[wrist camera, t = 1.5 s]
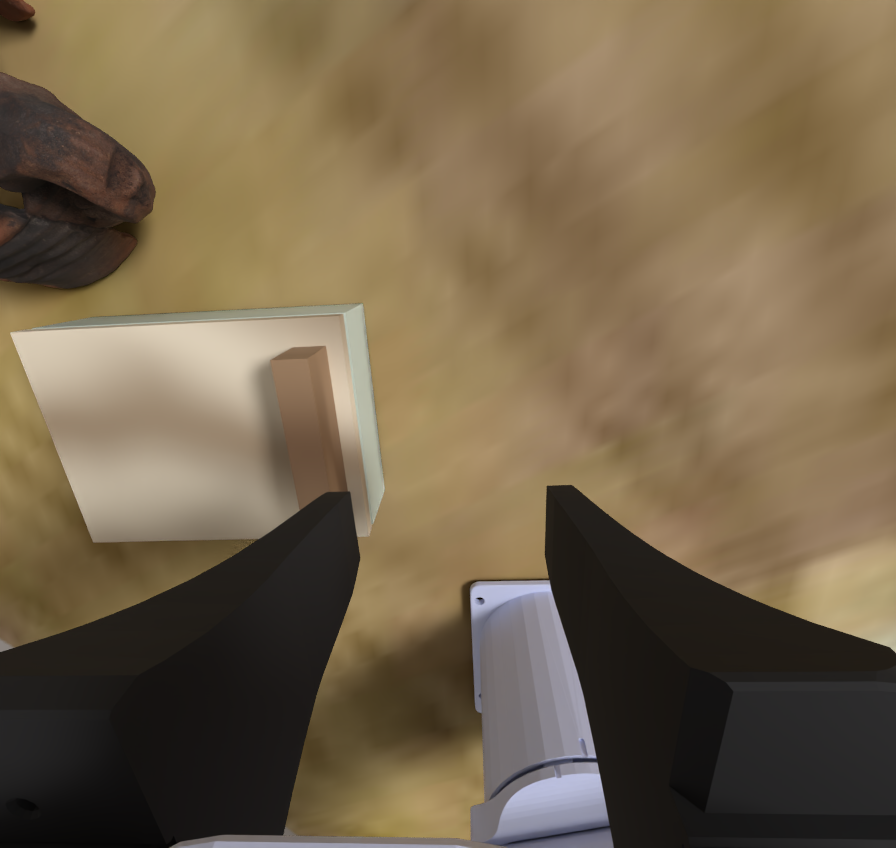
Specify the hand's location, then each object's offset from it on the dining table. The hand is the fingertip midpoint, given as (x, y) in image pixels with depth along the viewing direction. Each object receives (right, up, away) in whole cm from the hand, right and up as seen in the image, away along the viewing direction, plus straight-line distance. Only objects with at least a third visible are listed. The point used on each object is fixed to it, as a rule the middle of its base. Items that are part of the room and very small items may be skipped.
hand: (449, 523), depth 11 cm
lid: (-9, +2, +7) cm, 12 cm away
